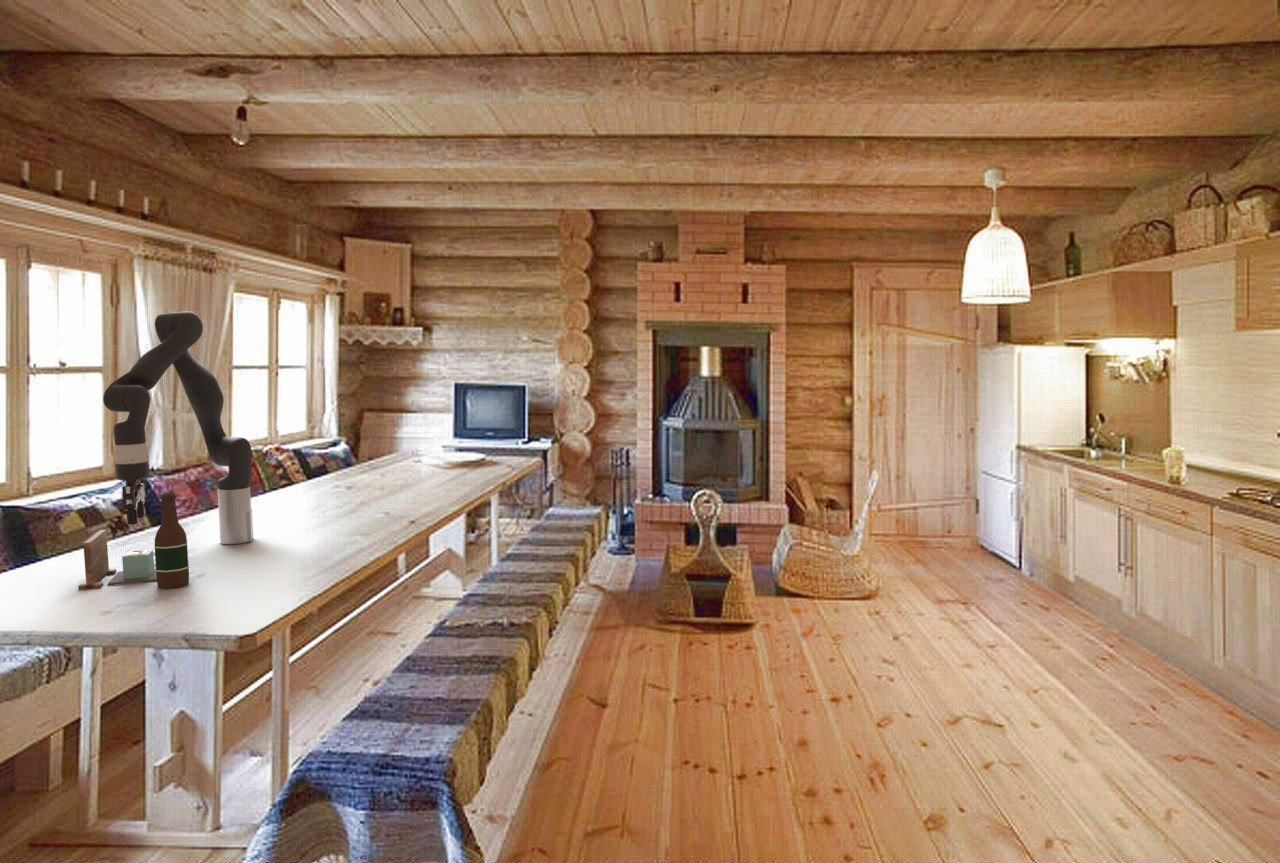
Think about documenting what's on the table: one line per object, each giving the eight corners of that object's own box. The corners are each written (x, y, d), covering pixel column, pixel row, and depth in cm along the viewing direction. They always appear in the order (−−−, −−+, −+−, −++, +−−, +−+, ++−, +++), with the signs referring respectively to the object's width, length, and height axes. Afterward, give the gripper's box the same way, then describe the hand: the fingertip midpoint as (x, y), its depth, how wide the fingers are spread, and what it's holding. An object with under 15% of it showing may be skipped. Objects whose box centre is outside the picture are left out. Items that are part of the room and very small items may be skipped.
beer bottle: (165, 581, 220) (159, 491, 217) (195, 580, 220) (190, 490, 218) (150, 590, 212) (144, 496, 210) (182, 589, 213) (176, 496, 210)
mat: (168, 569, 232) (168, 567, 232) (160, 580, 220) (160, 578, 220) (118, 573, 228) (118, 571, 227) (107, 585, 216) (107, 583, 216)
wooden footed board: (116, 572, 229) (113, 529, 228) (101, 587, 214) (98, 541, 213) (95, 574, 227) (92, 530, 226) (78, 589, 212) (75, 543, 211)
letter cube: (154, 571, 228) (152, 548, 227) (149, 576, 222) (148, 553, 222) (129, 573, 226) (127, 550, 225) (123, 578, 220) (122, 555, 220)
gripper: (142, 463, 215) (147, 525, 217) (153, 456, 229) (157, 514, 230) (108, 465, 213) (113, 527, 215) (121, 457, 226) (126, 516, 228)
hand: (136, 520), depth 223 cm, fingers open, 8 cm apart
